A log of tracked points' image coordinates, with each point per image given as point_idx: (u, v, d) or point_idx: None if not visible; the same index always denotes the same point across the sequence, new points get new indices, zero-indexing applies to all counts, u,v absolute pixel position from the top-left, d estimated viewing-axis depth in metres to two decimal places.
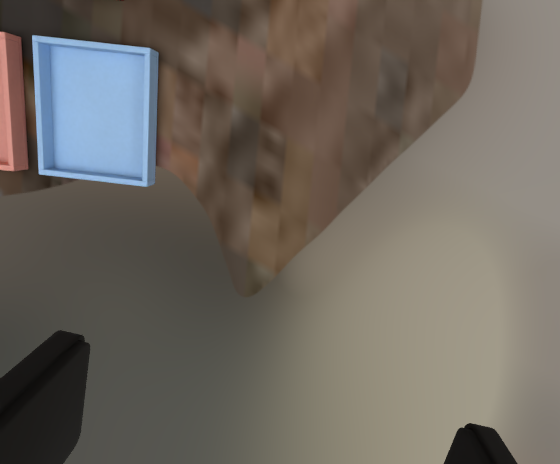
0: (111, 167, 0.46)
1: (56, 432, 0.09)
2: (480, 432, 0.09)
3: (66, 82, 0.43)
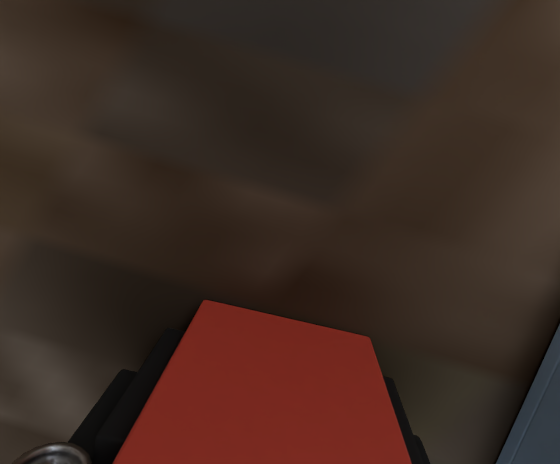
0: None
1: None
2: None
3: None
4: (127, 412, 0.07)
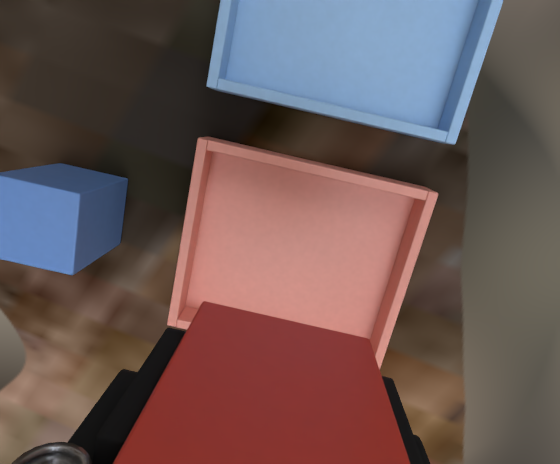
0: (461, 7, 0.22)
1: None
2: None
3: (289, 65, 0.23)
4: (127, 412, 0.07)
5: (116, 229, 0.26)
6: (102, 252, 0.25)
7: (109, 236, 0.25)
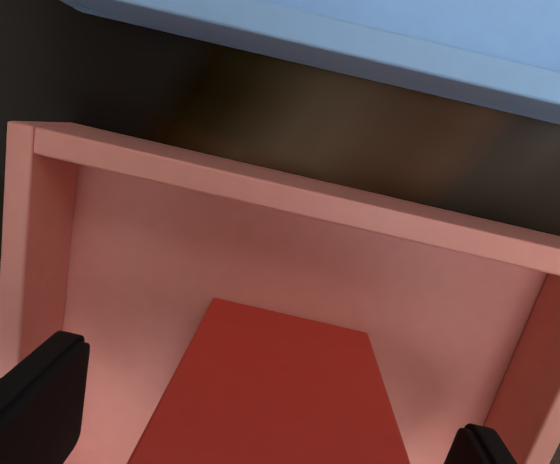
0: None
1: (56, 432, 0.09)
2: (480, 432, 0.09)
3: None
4: None
5: None
6: None
7: None
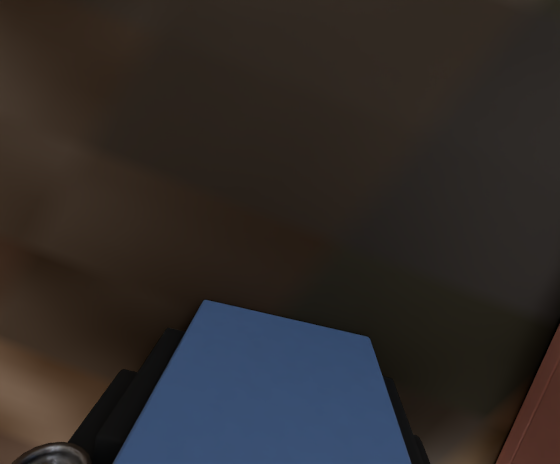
0: None
1: None
2: None
3: None
4: (127, 412, 0.07)
5: None
6: None
7: None
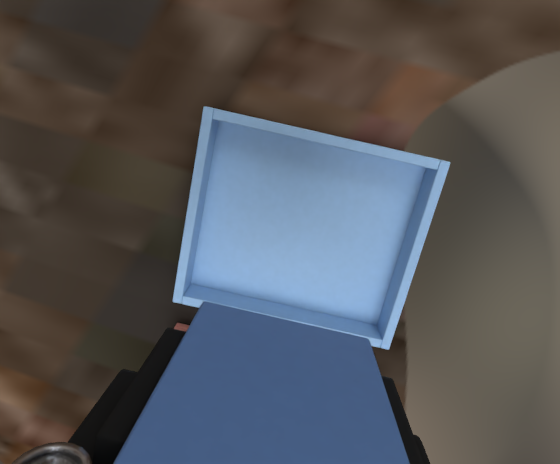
0: (393, 230, 0.26)
1: None
2: None
3: (246, 272, 0.27)
4: (127, 412, 0.07)
5: None
6: None
7: None
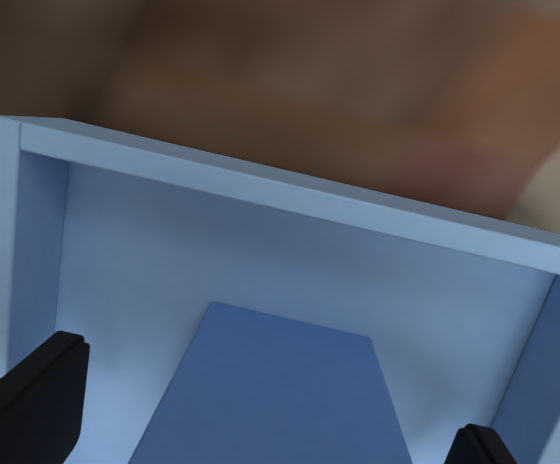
0: (474, 393, 0.11)
1: (56, 432, 0.09)
2: (480, 432, 0.09)
3: None
4: None
5: None
6: None
7: None
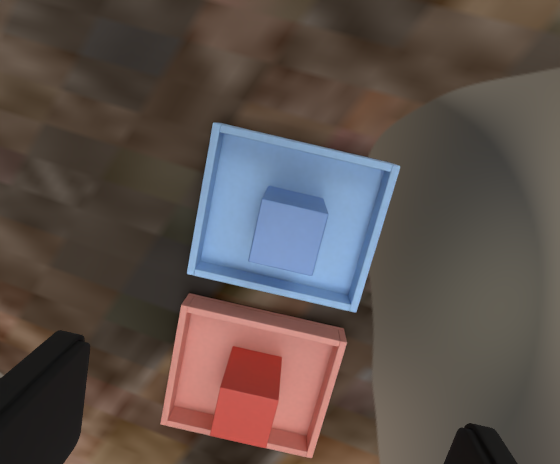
0: (360, 219, 0.33)
1: (56, 432, 0.09)
2: (480, 432, 0.09)
3: (244, 251, 0.34)
4: None
5: None
6: None
7: None
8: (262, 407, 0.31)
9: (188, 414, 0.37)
